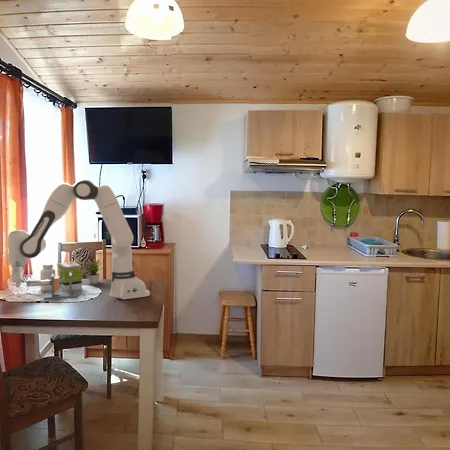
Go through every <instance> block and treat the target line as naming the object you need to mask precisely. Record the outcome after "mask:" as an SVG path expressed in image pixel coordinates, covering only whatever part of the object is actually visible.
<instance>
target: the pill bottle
mask: <svg viewBox="0 0 450 450" xmlns="http://www.w3.org/2000/svg"><path fill="white" fill-rule="evenodd" d="M53 267H54V264H53V263H43V264H42V269H41V270H40V272H39V273H40V276H39V277H40V278H39V279H40V280H51V276H52V274H54V276H56V270H55V268H53ZM40 290H41V291H52V285H46V286H40Z"/></svg>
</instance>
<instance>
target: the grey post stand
mask: <svg viewBox="0 0 450 450" xmlns="http://www.w3.org/2000/svg"><path fill="white" fill-rule="evenodd" d="M51 282H52V290H51V292H45V293H44V295H43V300H54V299H71V298H78V290H72V273H69V288H70V291H54V274H52V276H51Z"/></svg>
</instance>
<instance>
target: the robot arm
mask: <svg viewBox="0 0 450 450" xmlns="http://www.w3.org/2000/svg"><path fill="white" fill-rule="evenodd" d="M75 199H79V200H82V201H90V200H93V201H94V202H95V204H96V205H97V208H98V210H99V212H100V214H101V215H100V216H101V217H102V220H103V222H104V224H105V226H106V228H107V230H108V232H109V235H110V237H111V238H110V239H111V240H110V241H111V258H112V259H111V265H112V266H111V267H112V270H111V273H110V276H111V277H110V280H111V287H110V292H109V297H112V298H116V299H119V300H120V299H121V300H127V299H128V300H129V299H137V298H144V297H150V296H151V292H150V291H149V289H147V287H146V284H145V282H143V280H141V279H140V278H138V277H137V276H138V275H139V274H138V271H135V270H133V251H132V250H133V249H132V244H133V242H134V234H133V232H132V229H131V228H130V225H129V223H128V221H127V219H126V217H125V214H124V213H123V211H122V208H121V206H120V204H119V201H118V199H117V197H116V195H115V193H114V191H113V190H112V188H111V187H110V186H109V185H100V186H97V185H95V184H94V183H93V182H92V181H91V180H89V179H86V178H85V179H80V180H78V181H76V182H75V183H74V184H73V185H72V184H69V183H67V182H61V183H59V184H58V185H57V186H56V187H55V188H54V189H53V191H52V192H51V194H50V195H49V197H48V199H47V201H46V203H45V205H44V208H43V210H42V213H41V215H40V218H39V220H38V222H37V223H36V225H35V226H34V228H33V229H32V231H31V233H30V232H27V231H26V230H24V229H18V230H13V231H11V232H9V234H8V237H7V249H8V255H7V260H8V262H7V264H8V265H10V266H11V280H12V282H15V288H20V287H21V284H22V277H23V275H24V274H25V265H26V264H27V263H28V259H33V258H36V257H38V256H39V255H40V254H41V253H42V252H43V251H44V250H45V249H46V248H47V247H46V246H47V242H46V240H45V236H46V235H47V233H48V231H49V229H51V227H52V226H53V225H54V224H55V223H56V222H57V221H59V220H60V219H61V218H63V216H64V215H65V214H66V213H67V211H68V209H69V208H70V206H71V204H72V202H73V201H74V200H75Z"/></svg>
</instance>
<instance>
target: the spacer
mask: <svg viewBox="0 0 450 450" xmlns="http://www.w3.org/2000/svg"><path fill="white" fill-rule="evenodd" d="M60 289H61V287H60V285H59V276H58V275H55V276H54V291H55V292H60Z"/></svg>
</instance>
